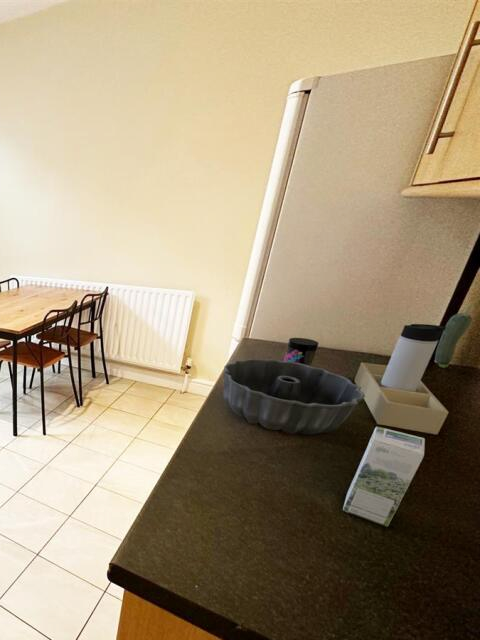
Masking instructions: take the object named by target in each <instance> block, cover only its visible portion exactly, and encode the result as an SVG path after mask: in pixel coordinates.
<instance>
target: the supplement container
mask: <svg viewBox="0 0 480 640" xmlns="http://www.w3.org/2000/svg"><path fill="white" fill-rule="evenodd" d="M318 346H319V341H317V340H314V339H310V338H305V337H290V338H289V339H288V342H287V346H286V350H285V353H284V356H283V359H282V361H283V362H295V363H300V364H305V365H308V366H311V367H312V364H313V361H314V359H315V356H316V352H317V350H318Z"/></svg>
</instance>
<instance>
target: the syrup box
mask: <svg viewBox="0 0 480 640" xmlns="http://www.w3.org/2000/svg"><path fill="white" fill-rule="evenodd" d="M425 443H426V439H425V438H424V437H420V436H417V435H413V434H409V433H405V432H401V431H397V430H393V429H389V428H385V427H381V426H376V427H375V428H374V430H373V433H372V435H371V437H370V439H369V442H368V444H367V447H366V449H365V451H364V453H363V456H362V457H361V460H360V463H359V465H358V467H357V469H356V472H355V474H354V477H353V479H352V481H351V484H350V486H349V488H348V491H347V492H346V496H345V500H344V504H343V506H342V507H343V508H342V512H345V513H347V514H350V515H352V516H353V515H354V516H355V517H359V518H361V519H365V520H366V521H370V522H372V523H375V524H378V525H381V526H384V527H386V528H387V527H388V526H389V525H390V524H391V521H392V519H393V517H394V516H395V513H396V512H397V510H398V508H399V506H400V503H401V501H402V499H403V498H404V496H405V494H406V492H407V490H408V488H409V486H410V484H411V483H412V481H413V478H414V477H415V475H416V472H417V471H418V469H419V466H421V465H420V464H421V463H422V461H423V459H424V456H425Z"/></svg>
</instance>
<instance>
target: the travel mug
mask: <svg viewBox="0 0 480 640" xmlns="http://www.w3.org/2000/svg"><path fill="white" fill-rule="evenodd" d="M445 329H446V327H445V326H443V325H437V324H427V323H426V324H425V323H411V324H408V325H407V324H405V325H404V326H403V329H402V330H401V333H400V334H399V337H398V340H397V342H396V344H395V347H394V349H393V352H392V354H391V357H390V358H389V361H388V364H387V365H386V366H387V369H386V371H385V373H384V376H383V378H382V381H381V383H380V386H379V387H383V388H390V389H397V390H404V391H411V392H415V391H416V389H417V387H418V384H419V382H420V380H421V381H422V378H423V375H424V373H425V371H426V369H427V367H428V365H429V363H430V360H431V358H432V356H433V353H434V351H435V349H436V348H437V346H438V343H439V340H440V337H441V336H442V334H443V331H444V330H445Z"/></svg>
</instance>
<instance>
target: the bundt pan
mask: <svg viewBox="0 0 480 640" xmlns="http://www.w3.org/2000/svg"><path fill="white" fill-rule="evenodd" d="M223 370H224V371H223V372H222V376H223V377H224V378H223V401H224V402H225V404H226V405H227V406H228V407H229V408H230V409H231V410H232V411H233V412H234V413H235V414H236V415H238V416H239V417H242V418H245V419H246V421H247V422H248V423H249V424H253V425H254V424H259V425H260V426H262V427H264V428H265V429H268V430H272V431H278V430H282V431H283V432H284V433H285V434H287V435H293V434H294V433H298V434H301V435H309V436H310V435H317V434H325V433H326V434H327V433H331V432H334V431H335V430H337V429H338V428H339V427H340V426H341V425H342V424H343V423H344V422H346V420H347V418H348V417H349V416H350V415H351V413H352V411H353V410H354V409H355V407H356V406H358V403H359V402H361V401H363V400H364V397H365V395H364V393H363V392H362V391H360V389H361V387H360V386H358V385H356V383H353V382H352V381H351V380H350V379H349V378H347V377H346V376H343V375H340V374H338V373H334V372H330V371H329V370H327V369H325V368H321V367H320V368H319V367H313V366H312V365H311V366H308V365H305V364H300V363H295V362H283V360H279V359H275V358H272V359H263V358H247V359H244V360H234V361H233V362H232V363H228V364H226V365H224V368H223Z"/></svg>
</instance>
